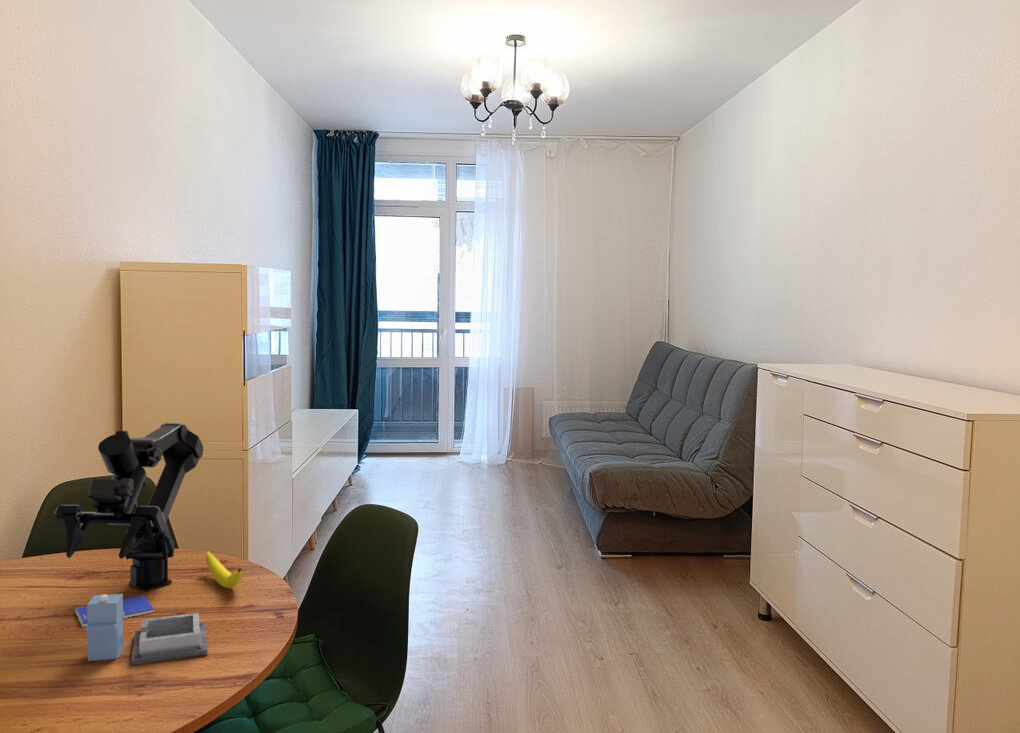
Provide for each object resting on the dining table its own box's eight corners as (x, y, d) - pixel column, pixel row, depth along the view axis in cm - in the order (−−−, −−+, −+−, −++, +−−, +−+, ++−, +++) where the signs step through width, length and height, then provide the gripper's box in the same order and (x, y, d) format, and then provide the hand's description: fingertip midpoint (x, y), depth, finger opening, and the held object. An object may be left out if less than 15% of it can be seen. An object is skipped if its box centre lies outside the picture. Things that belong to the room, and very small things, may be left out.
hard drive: (82, 621, 143) (153, 607, 151) (75, 607, 150) (143, 594, 157) (82, 629, 143) (153, 615, 151) (75, 614, 150) (143, 601, 157)
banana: (213, 570, 175) (213, 543, 174) (247, 596, 160) (247, 567, 160) (200, 573, 173) (200, 546, 172) (233, 600, 158) (233, 570, 158)
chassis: (135, 636, 140) (135, 617, 140) (205, 627, 145) (205, 609, 145) (131, 665, 129) (131, 645, 129) (207, 654, 134) (207, 635, 134)
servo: (96, 647, 135) (95, 587, 134) (124, 645, 136) (124, 586, 135) (86, 663, 130) (85, 601, 129) (115, 661, 131) (115, 599, 130)
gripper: (61, 461, 145) (25, 529, 133) (162, 463, 146) (135, 531, 134) (79, 498, 152) (46, 566, 140) (175, 500, 153) (151, 567, 142)
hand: (94, 557), depth 139 cm, fingers open, 9 cm apart
